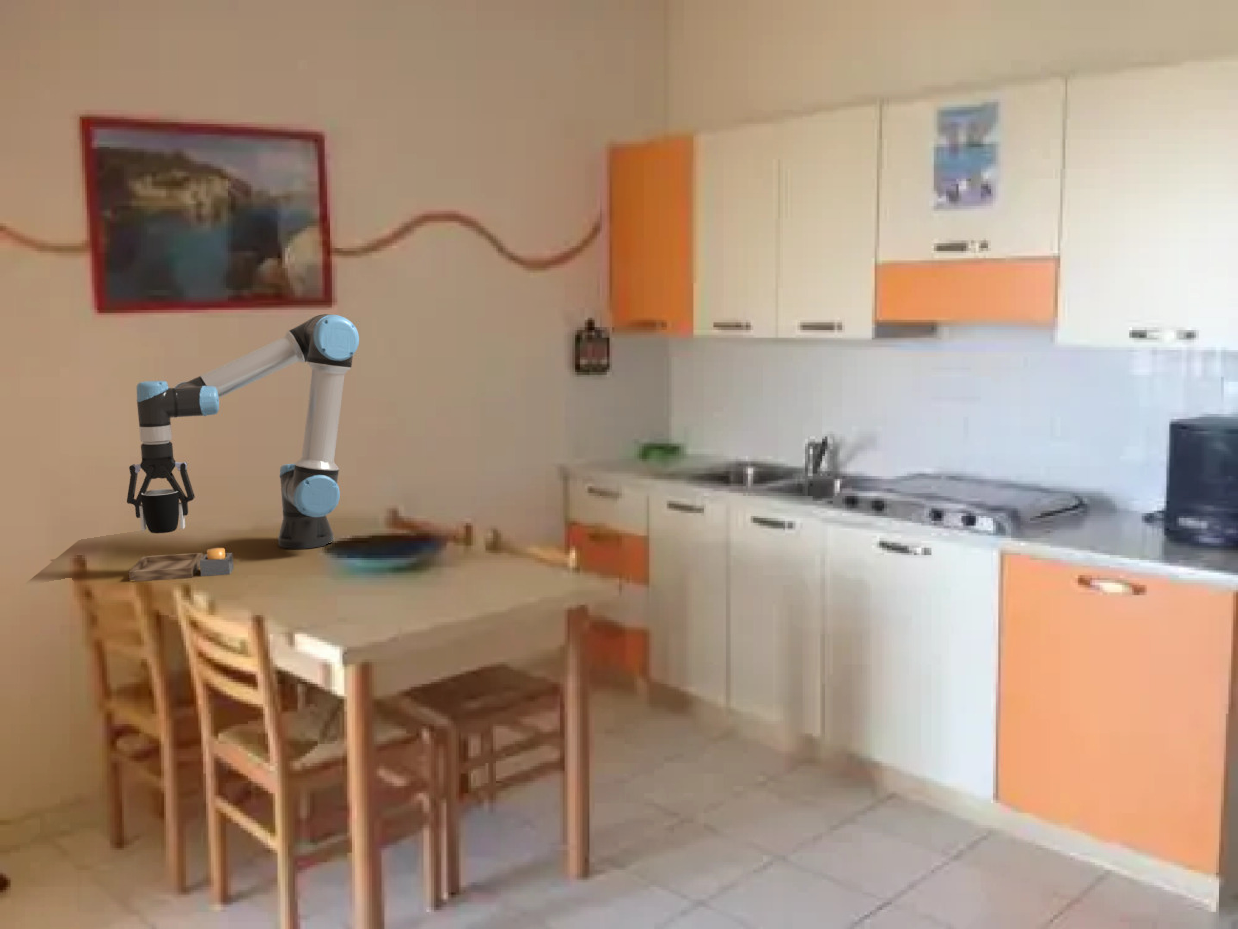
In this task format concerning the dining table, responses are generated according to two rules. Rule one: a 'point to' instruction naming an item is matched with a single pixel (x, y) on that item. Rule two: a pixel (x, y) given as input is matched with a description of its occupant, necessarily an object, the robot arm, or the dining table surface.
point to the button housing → (216, 565)
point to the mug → (161, 510)
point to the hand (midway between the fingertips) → (163, 529)
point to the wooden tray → (166, 567)
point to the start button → (216, 553)
